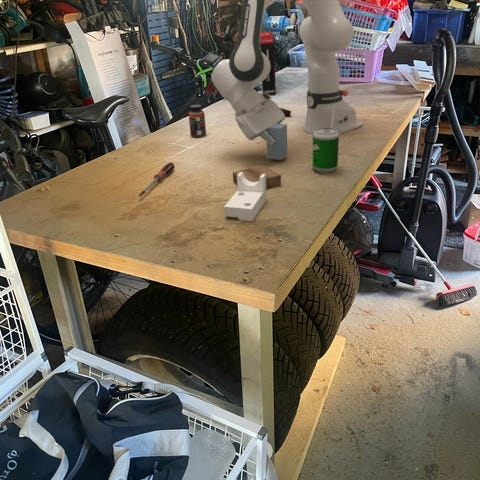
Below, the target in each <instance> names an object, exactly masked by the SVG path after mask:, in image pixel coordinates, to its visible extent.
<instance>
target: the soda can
mask: <svg viewBox="0 0 480 480" xmlns="http://www.w3.org/2000/svg"><path fill="white" fill-rule="evenodd" d="M339 143H340V134H339V133H338V132H337V131H336V129H334V128H319V129H317V130H316V131H315V132H314V133H312V159H311V161H312V163H311V164H312V165H311V167H312V168H313V169H314V171H315V172H317V173H320V174H330V173H333V172H335V170H336V169H337V168H338V165H339V164H338V163H339V145H340V144H339Z"/></svg>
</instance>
